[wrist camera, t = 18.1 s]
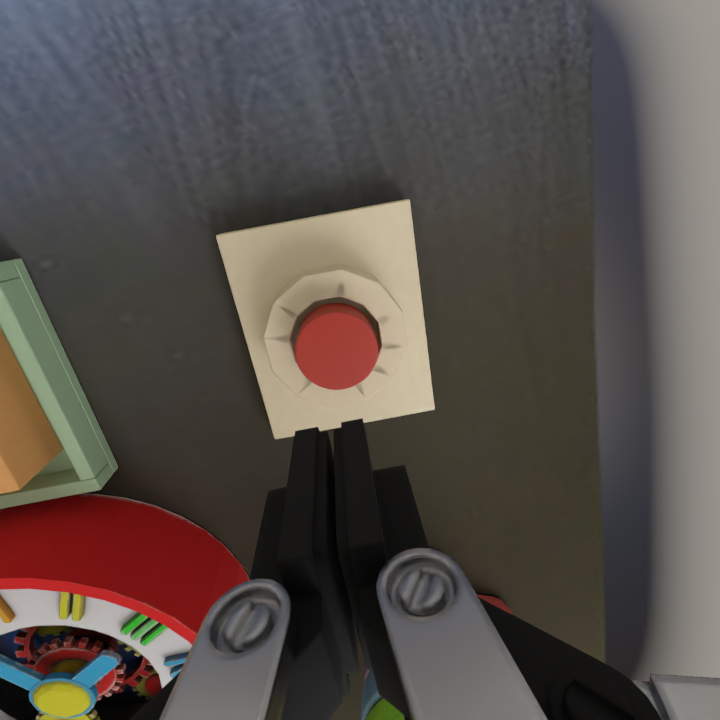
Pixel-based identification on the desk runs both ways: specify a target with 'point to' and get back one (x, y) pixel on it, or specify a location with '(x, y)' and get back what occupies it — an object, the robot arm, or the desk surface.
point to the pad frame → (51, 396)
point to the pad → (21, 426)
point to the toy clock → (100, 604)
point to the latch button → (336, 346)
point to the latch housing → (332, 285)
